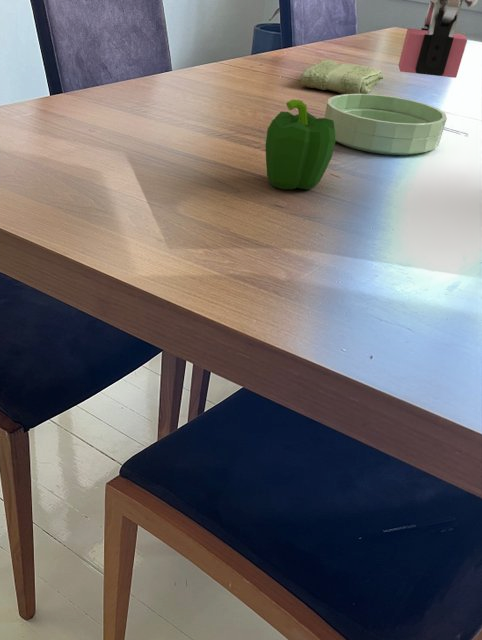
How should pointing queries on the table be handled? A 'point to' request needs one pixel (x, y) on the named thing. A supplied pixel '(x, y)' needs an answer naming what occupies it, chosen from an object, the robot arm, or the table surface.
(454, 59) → the eraser
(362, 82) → the washcloth
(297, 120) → the bell pepper
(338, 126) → the bowl
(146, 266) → the table surface
